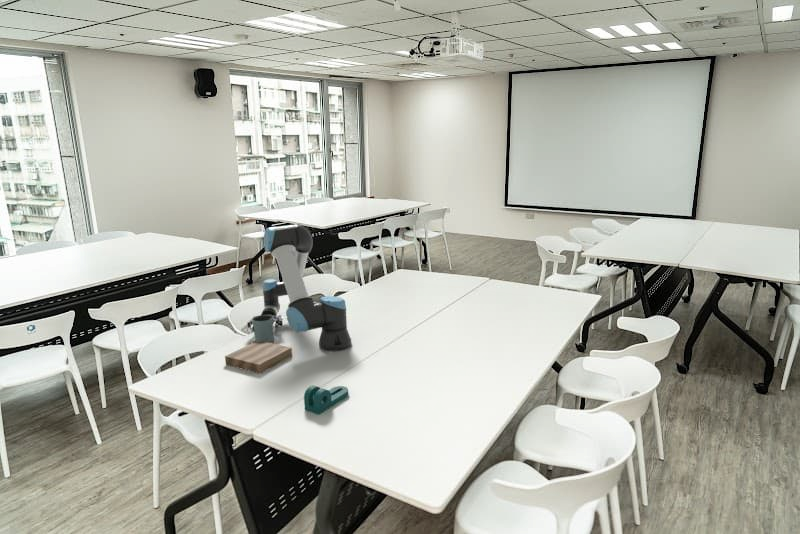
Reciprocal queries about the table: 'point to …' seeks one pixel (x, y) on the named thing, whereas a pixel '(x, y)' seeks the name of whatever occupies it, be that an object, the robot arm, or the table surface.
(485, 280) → the table surface
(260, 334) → the blue green cup
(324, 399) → the bracket
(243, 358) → the walnut riser
